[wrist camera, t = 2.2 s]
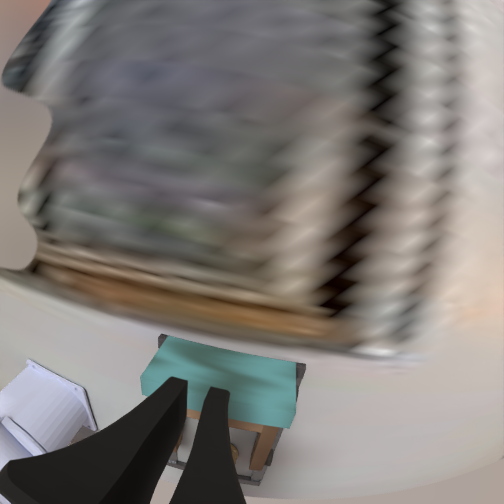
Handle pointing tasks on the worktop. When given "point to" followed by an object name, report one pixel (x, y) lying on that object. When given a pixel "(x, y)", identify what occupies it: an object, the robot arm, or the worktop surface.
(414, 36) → the worktop surface
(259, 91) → the worktop surface
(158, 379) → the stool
